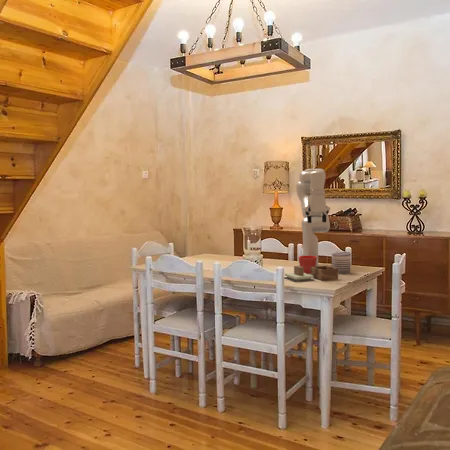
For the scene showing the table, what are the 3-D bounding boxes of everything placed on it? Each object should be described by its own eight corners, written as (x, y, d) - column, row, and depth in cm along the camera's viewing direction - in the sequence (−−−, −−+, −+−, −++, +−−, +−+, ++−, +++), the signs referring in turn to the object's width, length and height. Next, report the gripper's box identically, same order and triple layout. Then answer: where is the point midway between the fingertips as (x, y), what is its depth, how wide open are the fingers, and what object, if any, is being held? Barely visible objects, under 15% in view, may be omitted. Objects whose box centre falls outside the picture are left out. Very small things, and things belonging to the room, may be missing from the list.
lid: (284, 277, 292) (284, 265, 291) (301, 275, 296) (301, 264, 295) (295, 281, 280) (295, 269, 279) (313, 279, 284) (313, 267, 283)
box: (310, 277, 293) (310, 266, 293) (326, 276, 297) (326, 265, 296) (322, 281, 282) (322, 270, 281) (338, 279, 285) (338, 268, 285)
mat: (283, 278, 292) (283, 277, 292) (301, 276, 297) (301, 275, 297) (295, 282, 279) (295, 281, 279) (314, 280, 284) (314, 279, 284)
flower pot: (295, 272, 311) (295, 256, 311) (311, 270, 315) (311, 255, 314) (303, 274, 301) (303, 258, 301) (320, 273, 305) (320, 257, 304)
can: (353, 274, 302) (353, 253, 301) (334, 274, 301) (334, 254, 300) (347, 271, 313) (347, 251, 312) (329, 271, 313) (329, 251, 312)
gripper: (326, 192, 305) (326, 221, 307) (300, 193, 299) (300, 222, 300) (333, 192, 298) (333, 222, 300) (307, 193, 292) (307, 223, 293)
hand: (316, 222), depth 300 cm, fingers open, 9 cm apart
